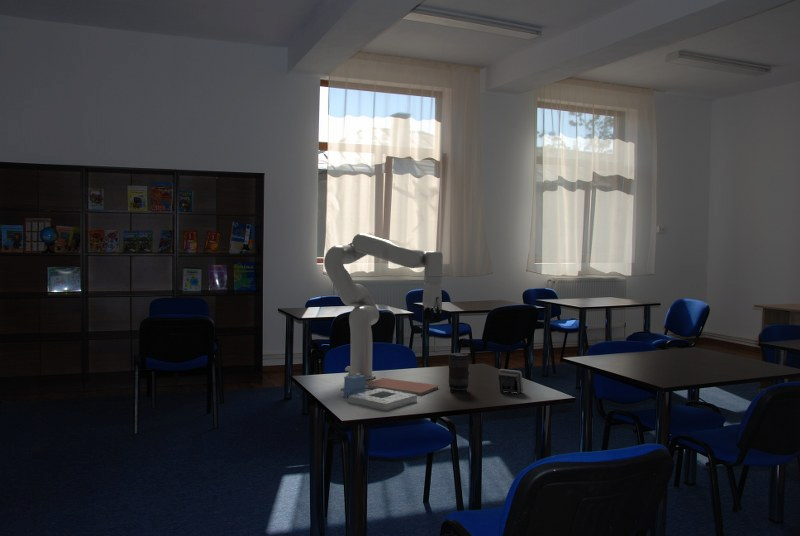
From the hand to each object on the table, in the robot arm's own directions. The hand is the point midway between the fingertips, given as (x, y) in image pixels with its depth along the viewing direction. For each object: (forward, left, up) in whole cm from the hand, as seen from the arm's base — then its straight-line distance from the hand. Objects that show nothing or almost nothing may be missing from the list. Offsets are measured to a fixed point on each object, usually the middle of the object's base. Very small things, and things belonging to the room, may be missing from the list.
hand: (432, 320), depth 271 cm
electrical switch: (+34, +7, -27) cm, 44 cm away
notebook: (-4, -16, -27) cm, 32 cm away
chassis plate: (+6, -39, -27) cm, 48 cm away
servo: (-9, -38, -27) cm, 47 cm away
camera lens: (+17, -5, -27) cm, 32 cm away
